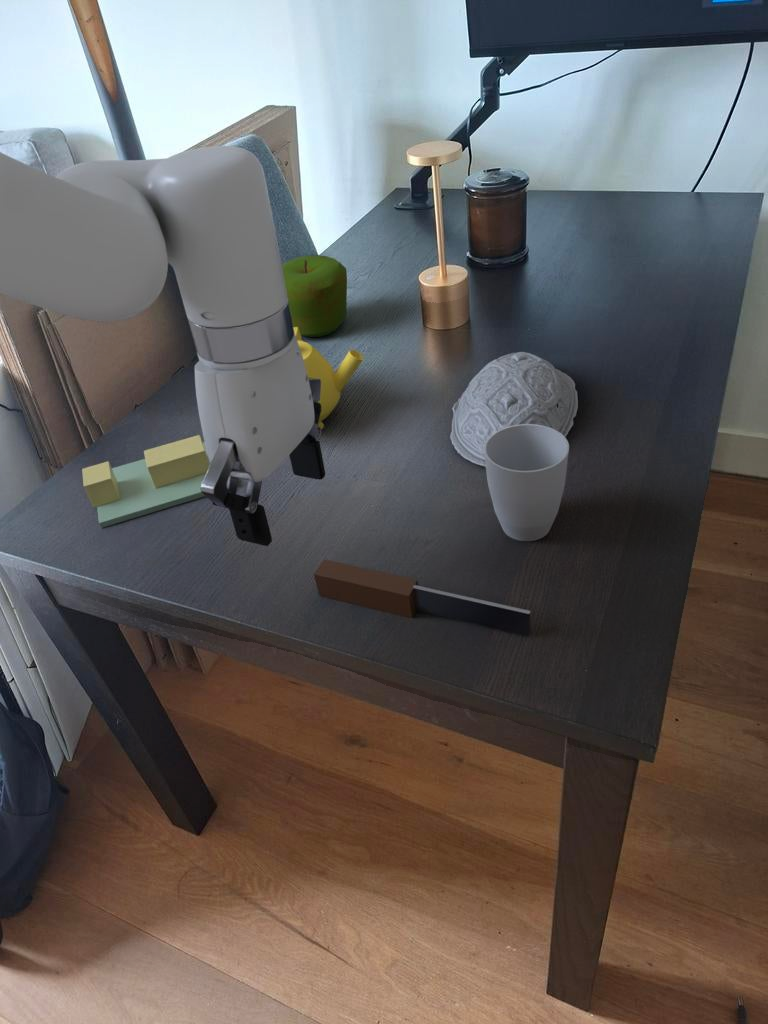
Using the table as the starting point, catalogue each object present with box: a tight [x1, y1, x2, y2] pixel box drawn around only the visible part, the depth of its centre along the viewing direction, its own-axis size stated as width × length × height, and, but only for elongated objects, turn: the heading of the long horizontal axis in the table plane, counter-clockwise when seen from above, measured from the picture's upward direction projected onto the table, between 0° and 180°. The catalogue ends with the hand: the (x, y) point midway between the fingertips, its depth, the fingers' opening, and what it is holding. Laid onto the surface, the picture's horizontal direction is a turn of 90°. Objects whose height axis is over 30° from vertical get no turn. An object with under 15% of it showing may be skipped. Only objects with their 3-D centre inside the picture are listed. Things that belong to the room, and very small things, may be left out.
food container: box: [449, 351, 579, 468], centre depth 95 cm, size 16×25×7 cm, turn 163°
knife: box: [313, 559, 532, 638], centre depth 71 cm, size 21×2×3 cm, turn 66°
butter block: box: [143, 434, 210, 488], centre depth 93 cm, size 7×4×3 cm, turn 110°
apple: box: [282, 254, 348, 338], centre depth 119 cm, size 12×12×11 cm
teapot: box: [293, 327, 365, 430], centre depth 99 cm, size 20×18×11 cm
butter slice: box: [81, 460, 120, 508], centre depth 91 cm, size 3×4×3 cm
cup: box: [484, 424, 570, 542], centre depth 76 cm, size 8×8×10 cm
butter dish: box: [96, 440, 210, 529], centre depth 94 cm, size 16×11×1 cm
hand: (283, 506), depth 68 cm, fingers open, 9 cm apart
